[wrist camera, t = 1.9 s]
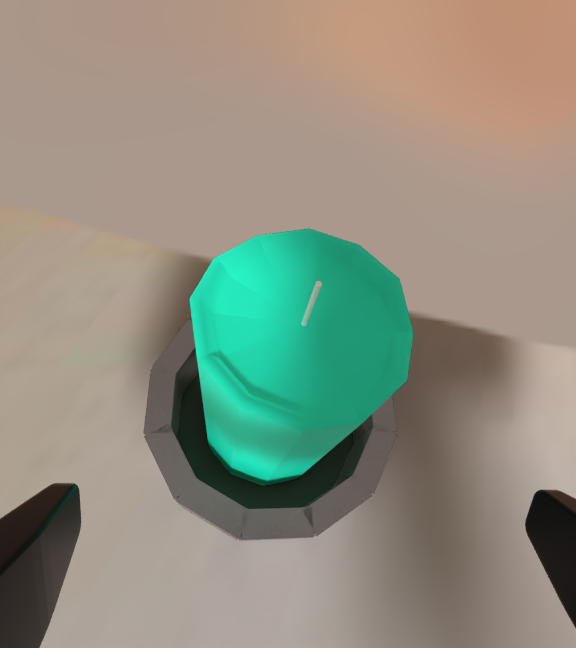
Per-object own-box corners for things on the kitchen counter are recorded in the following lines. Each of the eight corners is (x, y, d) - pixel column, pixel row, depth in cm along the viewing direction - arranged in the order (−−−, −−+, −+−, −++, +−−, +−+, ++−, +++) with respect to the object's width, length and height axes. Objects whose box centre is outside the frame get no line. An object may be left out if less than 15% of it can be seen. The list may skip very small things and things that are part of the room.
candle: (194, 481, 18) (158, 399, 8) (213, 355, 21) (204, 170, 11) (329, 490, 19) (462, 426, 9) (329, 367, 22) (430, 202, 11)
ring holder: (316, 588, 17) (333, 596, 15) (108, 462, 18) (89, 448, 16) (401, 383, 22) (425, 361, 19) (231, 292, 23) (233, 260, 20)
